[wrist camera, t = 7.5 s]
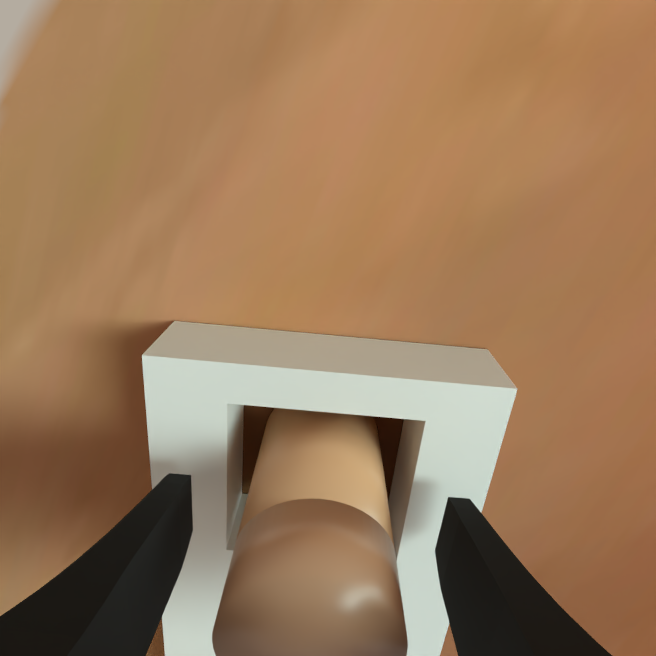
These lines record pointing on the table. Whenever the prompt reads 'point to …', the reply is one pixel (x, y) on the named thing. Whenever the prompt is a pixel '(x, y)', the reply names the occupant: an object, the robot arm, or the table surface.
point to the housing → (323, 396)
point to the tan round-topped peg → (314, 546)
